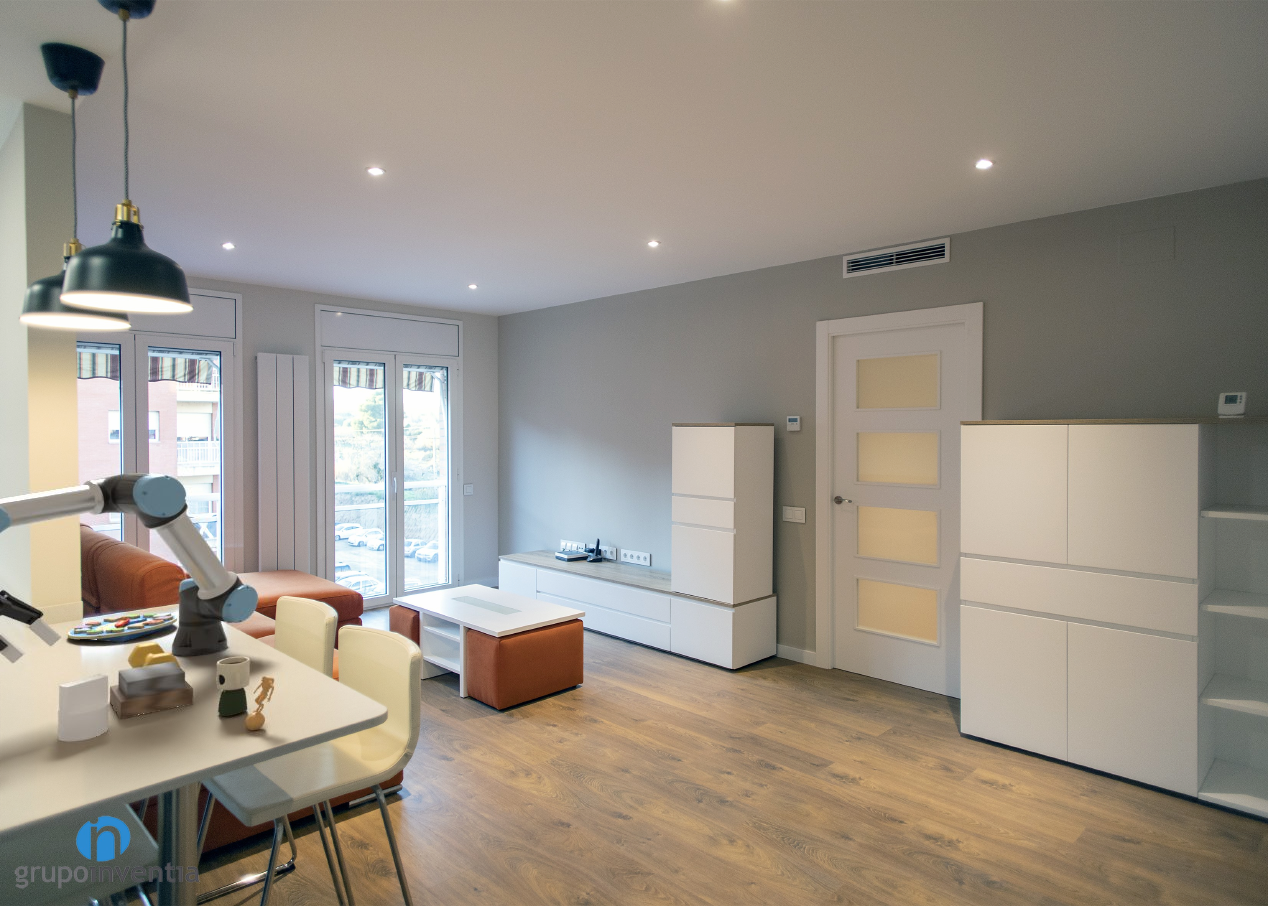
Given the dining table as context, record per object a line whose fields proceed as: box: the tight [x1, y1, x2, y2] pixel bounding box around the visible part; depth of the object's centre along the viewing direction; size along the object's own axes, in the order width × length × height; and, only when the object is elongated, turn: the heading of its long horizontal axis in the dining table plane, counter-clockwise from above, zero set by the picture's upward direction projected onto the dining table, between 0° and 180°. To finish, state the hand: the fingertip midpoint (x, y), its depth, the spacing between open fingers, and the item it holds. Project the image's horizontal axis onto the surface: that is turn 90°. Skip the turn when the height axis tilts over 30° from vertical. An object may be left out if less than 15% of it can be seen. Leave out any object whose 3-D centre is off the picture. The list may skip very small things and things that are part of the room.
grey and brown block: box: [109, 661, 194, 720], centre depth 180 cm, size 15×15×8 cm
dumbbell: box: [127, 641, 181, 669], centre depth 199 cm, size 19×9×8 cm, turn 46°
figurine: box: [244, 675, 275, 731], centre depth 165 cm, size 8×6×12 cm
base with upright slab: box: [57, 673, 110, 742], centre depth 161 cm, size 9×9×12 cm
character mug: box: [215, 656, 251, 717], centre depth 174 cm, size 11×7×13 cm, turn 39°
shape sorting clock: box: [67, 612, 178, 643], centre depth 245 cm, size 31×30×6 cm
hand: (38, 649), depth 160 cm, fingers open, 13 cm apart
